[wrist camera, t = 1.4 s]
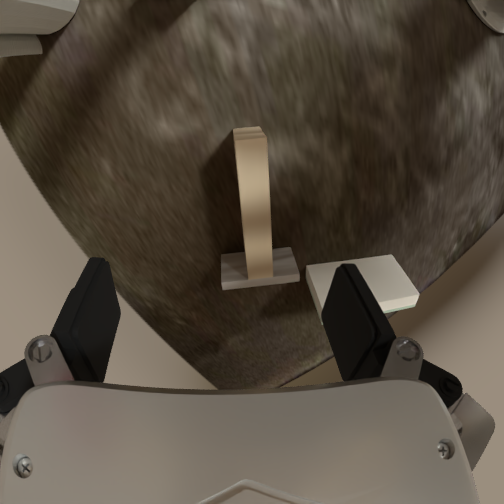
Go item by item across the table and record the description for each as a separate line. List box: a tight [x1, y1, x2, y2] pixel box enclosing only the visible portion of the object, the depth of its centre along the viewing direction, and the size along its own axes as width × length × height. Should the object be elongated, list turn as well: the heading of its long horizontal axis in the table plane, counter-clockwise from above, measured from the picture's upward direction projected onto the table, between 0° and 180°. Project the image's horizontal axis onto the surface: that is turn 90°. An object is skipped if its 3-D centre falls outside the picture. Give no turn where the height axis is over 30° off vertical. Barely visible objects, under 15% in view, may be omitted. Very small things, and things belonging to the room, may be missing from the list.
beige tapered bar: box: [221, 127, 300, 290], centre depth 28 cm, size 15×8×5 cm, turn 4°
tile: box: [306, 255, 419, 325], centre depth 33 cm, size 12×2×8 cm, turn 94°
